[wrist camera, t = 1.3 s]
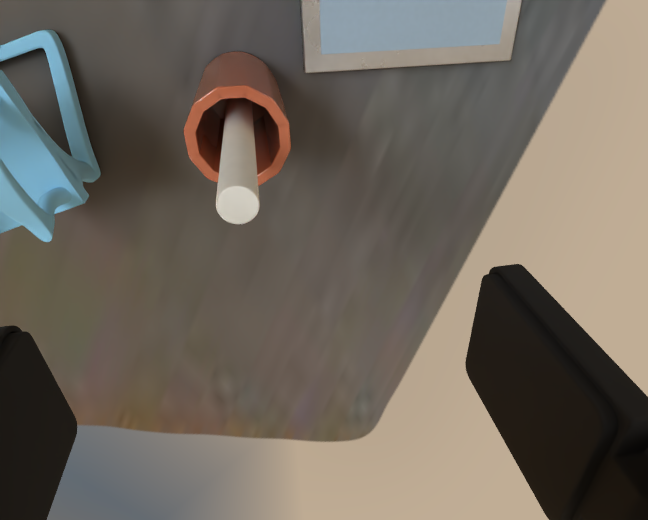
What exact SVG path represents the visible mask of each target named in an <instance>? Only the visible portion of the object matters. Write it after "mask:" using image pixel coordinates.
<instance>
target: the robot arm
mask: <svg viewBox="0 0 648 520" xmlns="http://www.w3.org/2000/svg"><path fill="white" fill-rule="evenodd" d="M466 371H467V373H468V376H469V379H470V380H471V382H472V384H473V386H474V387H475V389H476V391H477V393H478V395H479V397H480V398H481V400H482V402H483V404H484V405H485V407H486V409H487V411H488V413H489V414H490V416H491V418H492V420H493V422H494V423H495V425H496V427H497V429H498V430H499V432H500V434H501V436H502V438H503V439H504V441H505V443H506V445H507V447H508V448H509V450H510V452H511V454H512V455H513V457H514V459H515V461H516V463H517V464H518V466H519V468H520V470H521V472H522V473H523V475H524V477H525V479H526V481H527V482H528V484H529V486H530V488H531V490H532V491H533V493H534V495H535V497H536V499H537V500H538V502H539V504H540V506H541V507H542V509H543V511H544V513H545V514H546V516H547V517H548V519H549V520H648V397H647V396H646V395H645V394H644V393H643V391H642V390H640V388H639V387H638V386H637V385H636V384H635V383H634V382H633V381H632V380H631V379H630V378H629V377H628V376H627V375H626V374H625V373H624V371H623V370H622V369H621V368H619V366H618V365H617V364H616V363H615V362H614V361H613V360H612V359H611V358H610V357H609V356H608V355H607V354H606V353H605V352H604V350H602V348H601V347H600V346H599V345H598V344H597V343H596V342H595V341H594V340H593V339H592V338H591V337H590V336H589V335H588V334H587V333H586V332H585V331H584V330H583V328H582V327H581V326H580V325H579V324H578V323H577V322H576V321H575V320H574V319H573V318H572V317H571V316H570V315H569V314H568V313H567V312H566V311H565V310H564V308H562V307H561V305H560V304H559V303H558V302H557V301H556V300H555V299H554V298H553V297H552V296H551V295H550V294H549V293H548V292H547V291H546V290H545V289H544V287H542V285H541V284H539V282H538V281H537V280H536V279H535V278H534V277H533V276H532V275H531V274H530V273H529V272H528V271H527V270H526V269H525V268H524V267H523V266H522V265H519V264H515V265H506V266H498V267H493V268H492V269H491V270H490V272H489V274H487V275H485V276H484V277H483V279H482V283H481V287H480V292H479V297H478V302H477V307H476V312H475V317H474V322H473V327H472V332H471V337H470V342H469V347H468V352H467V357H466ZM76 434H77V421H76V418H75V416H74V414H73V412H72V410H71V408H70V407H69V405H68V403H67V401H66V399H65V397H64V395H63V393H62V392H61V390H60V388H59V386H58V384H57V382H56V380H55V379H54V377H53V375H52V373H51V371H50V369H49V367H48V365H47V364H46V362H45V360H44V358H43V356H42V354H41V352H40V351H39V349H38V347H37V345H36V343H35V341H34V339H33V338H32V336H31V335H30V333H28V332H22V331H21V329H20V328H18V327H17V326H5V327H0V520H47V517H48V514H49V511H50V508H51V505H52V502H53V500H54V497H55V494H56V491H57V488H58V485H59V482H60V480H61V477H62V474H63V471H64V469H65V466H66V463H67V460H68V457H69V454H70V452H71V449H72V446H73V443H74V440H75V437H76Z"/></svg>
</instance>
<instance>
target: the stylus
mask: <svg viewBox="0 0 648 520" xmlns="http://www.w3.org/2000/svg"><path fill="white" fill-rule="evenodd" d="M259 206H260V205H259V191H258V178H257V164H256V151H255V138H254V125H253V112H252V101H250V100H248V99H246V98H231V99H227V103H226V112H225V121H224V131H223V140H222V150H221V159H220V168H219V178H218V187H217V197H216V209H217V211H218V213H219V215H220V216H221V217H222V218H223V219H224V220H226V221H227V222H230V223H233V224H244V223H247V222H249V221H251V220H252V219H253V218H254V217H255V216H256V215H257V213H258V211H259Z"/></svg>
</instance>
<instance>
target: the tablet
mask: <svg viewBox="0 0 648 520" xmlns="http://www.w3.org/2000/svg"><path fill="white" fill-rule="evenodd" d="M521 2H522V0H300V10H301V29H302V49H303V69H304V72H305V73H317V72H333V71H349V70H365V69H381V68H397V67H413V66H429V65H445V64H461V63H477V62H493V61H509V60H510V59H511V54H512V49H513V44H514V39H515V33H516V28H517V23H518V18H519V12H520V7H521Z"/></svg>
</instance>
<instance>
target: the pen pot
mask: <svg viewBox="0 0 648 520" xmlns="http://www.w3.org/2000/svg"><path fill="white" fill-rule="evenodd" d="M231 98H246V99H248V100H250V101H252V112H253V125H254V138H255V151H256V164H257V178H258V186H259V185H261V184H262V183H264V182H265V181H267V180H268V179H270V178H272V177H273V176H275V175H276V174H278V173H279V172H280V170H281V168H282V166H283V164H284V162H285V160H286V158H287V156H288V154H289V152H290V150H291V141H290V127H289V121H288V118H287V114H286V111H285V108H284V104H283V101H282V98H281V94H280V91H279V88H278V84H277V82H276V79H275V78H274V76H273V74H272V73H271V71H270V69H269V68H268V67H267V66H266V64H265V63H264V62H262V61H261V60H260V59H259V58H257V57H255V56H253V55H251V54H249V53H245V52H238V51H234V52H228V53H224V54H222V55H219V56H218V57H216V58H215V59H214V60H212V61H211V62H210V64H208V65H207V66H206V68H205V70H204V73H203V76H202V78H201V81H200V84H199V87H198V89H197V92H196V95H195V98H194V101H193V104H192V107H191V110H190V112H189V115H188V118H187V121H186V124H185V127H184V136H185V141H186V146H187V151H188V156H189V157H190V159H191V160H192V162H193V163H194V164H195V165H196V166H197V167H198V169H199V170H200V171H201V172H202V173H203V174H204V175H205V177H206V178H208V179H210V180H212V181H215V182H217V183H218V178H219V168H220V159H221V150H222V140H223V131H224V121H225V112H226V103H227V99H231Z"/></svg>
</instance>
